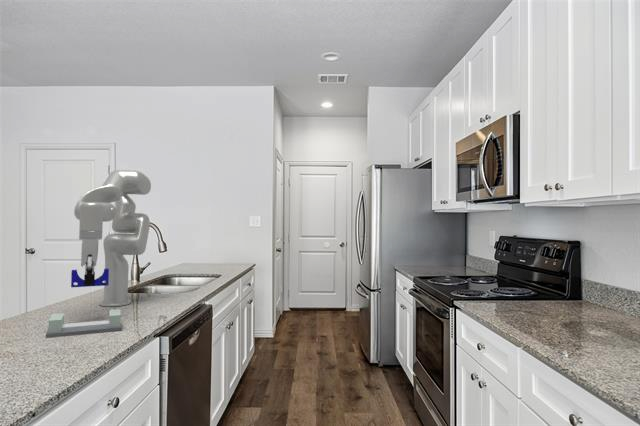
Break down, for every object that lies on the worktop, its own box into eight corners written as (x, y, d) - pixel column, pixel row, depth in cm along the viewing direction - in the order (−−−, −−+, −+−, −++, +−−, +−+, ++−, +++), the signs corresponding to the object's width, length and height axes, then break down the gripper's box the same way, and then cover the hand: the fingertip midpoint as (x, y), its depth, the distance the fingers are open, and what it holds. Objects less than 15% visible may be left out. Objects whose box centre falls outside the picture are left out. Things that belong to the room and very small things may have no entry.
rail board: (50, 328, 139) (50, 313, 139) (120, 322, 149) (121, 308, 150) (45, 337, 128) (46, 321, 129) (122, 330, 139) (122, 315, 139)
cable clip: (108, 283, 155) (108, 267, 155) (108, 285, 151) (108, 269, 151) (72, 285, 150) (72, 269, 150) (71, 287, 146) (71, 271, 146)
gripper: (80, 234, 156) (79, 280, 156) (77, 237, 141) (76, 288, 141) (102, 234, 159) (100, 279, 159) (102, 237, 145) (100, 287, 145)
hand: (89, 283), depth 150 cm, fingers closed on cable clip, 4 cm apart
